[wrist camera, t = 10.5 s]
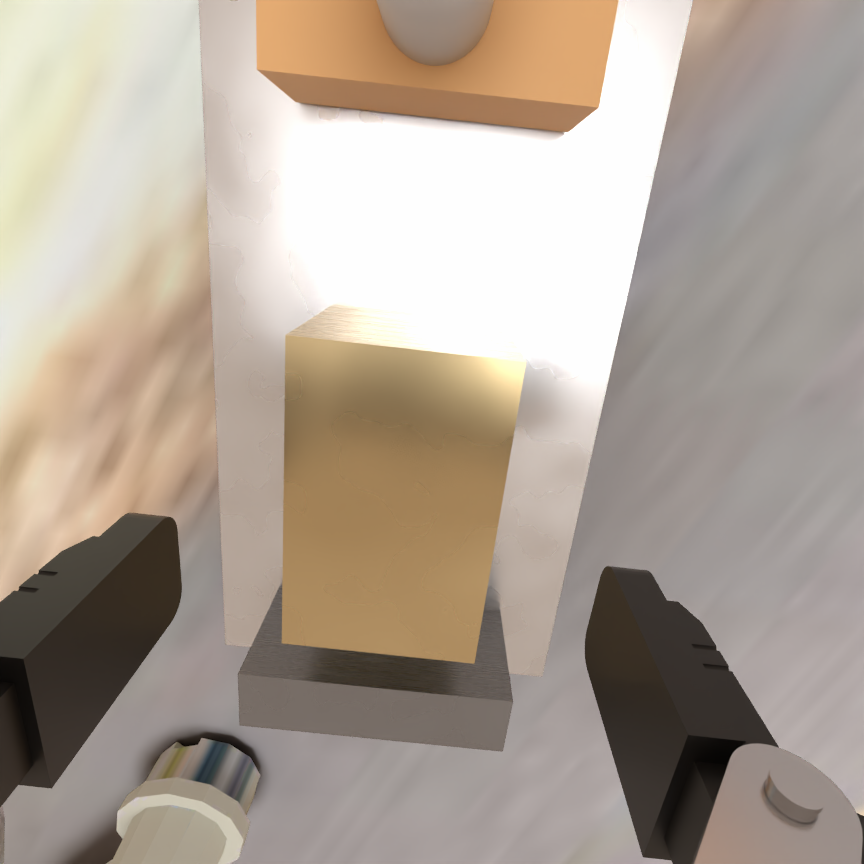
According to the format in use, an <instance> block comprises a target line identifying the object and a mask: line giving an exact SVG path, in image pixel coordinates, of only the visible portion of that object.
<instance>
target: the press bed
mask: <svg viewBox="0 0 864 864" xmlns="http://www.w3.org/2000/svg"><path fill="white" fill-rule="evenodd" d="M692 3H693V0H619V2H618V7H617V12H616V18H615V23H614V29H613V34H612V40H611V45H610V51H609V56H608V62H607V67H606V72H605V78H604V83H603V89H602V94H601V100H600V105H599V108H598V109H597V110H595V111H594V112H593V113H592V114H590V115H589V116H588V117H587V118H586V119H584V120H583V121H582V122H581V123H579V124H578V125H577V126H576V127H574V128H573V129H572V130H571V131H569V132H561V131H552V130H543V129H534V128H524V127H515V126H506V125H497V124H488V123H479V122H470V121H461V120H452V119H443V118H434V117H425V116H416V115H407V114H398V113H389V112H380V111H371V110H362V109H353V108H344V107H335V106H325V105H316V104H307V103H298V102H295V101H294V100H292V99H291V98H290V97H289V96H288V95H287V94H285V93H284V92H283V91H282V90H281V89H279V88H278V87H277V86H276V85H275V84H273V83H272V82H271V81H270V80H269V79H267V78H266V77H265V76H264V75H263V74H261V73H260V72H259V71H258V70H257V50H256V0H199V17H200V42H201V66H202V90H203V114H204V139H205V163H206V187H207V211H208V236H209V260H210V284H211V308H212V332H213V357H214V381H215V405H216V429H217V454H218V478H219V502H220V526H221V551H222V575H223V599H224V623H225V645H234V646H244V647H251V648H250V650H249V652H248V654H247V656H246V658H245V660H244V662H243V665H242V667H241V669H240V671H239V673H238V691H239V722H240V725H241V726H251V727H261V728H271V729H281V730H291V731H301V732H311V733H321V734H331V735H342V736H352V737H362V738H372V739H382V740H392V741H402V742H412V743H422V744H432V745H442V746H452V747H462V748H472V749H482V750H492V751H503V748H504V743H505V738H506V733H507V728H508V723H509V718H510V713H511V708H512V704H513V699H512V692H511V684H510V677H509V673H511V674H521V675H531V676H541V677H542V675H543V671H544V666H545V662H546V657H547V653H548V648H549V644H550V639H551V635H552V630H553V626H554V621H555V617H556V612H557V608H558V603H559V599H560V594H561V590H562V586H563V581H564V577H565V572H566V568H567V563H568V559H569V554H570V550H571V545H572V541H573V536H574V532H575V527H576V523H577V518H578V514H579V509H580V505H581V500H582V496H583V491H584V487H585V482H586V478H587V474H588V469H589V465H590V460H591V456H592V451H593V447H594V442H595V438H596V433H597V429H598V424H599V420H600V415H601V411H602V406H603V402H604V397H605V393H606V388H607V384H608V379H609V375H610V370H611V366H612V361H613V357H614V353H615V348H616V344H617V339H618V335H619V330H620V326H621V321H622V317H623V312H624V308H625V303H626V299H627V294H628V290H629V285H630V281H631V276H632V272H633V267H634V263H635V258H636V254H637V249H638V245H639V241H640V236H641V232H642V227H643V223H644V218H645V214H646V209H647V205H648V200H649V196H650V191H651V187H652V182H653V178H654V173H655V169H656V164H657V160H658V155H659V151H660V146H661V142H662V137H663V133H664V129H665V124H666V120H667V115H668V111H669V106H670V102H671V97H672V93H673V88H674V84H675V79H676V75H677V70H678V66H679V61H680V57H681V52H682V48H683V43H684V39H685V34H686V30H687V25H688V21H689V17H690V12H691V8H692ZM333 304H339V305H348V306H357V307H366V308H375V309H383V310H392V311H401V312H410V313H419V314H428V315H437V316H445V317H454V318H463V319H472V320H481V321H490V322H499V323H504V325H505V327H506V328H507V330H508V332H509V334H510V335H511V337H512V339H513V340H514V342H515V344H516V345H517V347H518V349H519V350H520V352H521V354H522V355H523V357H524V359H525V360H526V367H525V373H524V379H523V384H522V390H521V396H520V402H519V408H518V413H517V419H516V425H515V431H514V437H513V443H512V448H511V454H510V460H509V466H508V472H507V477H506V483H505V489H504V495H503V501H502V506H501V512H500V518H499V524H498V530H497V535H496V541H495V547H494V553H493V559H492V565H491V570H490V576H489V582H488V588H487V594H486V599H485V605H484V611H483V617H482V623H481V628H480V634H479V640H478V646H477V652H476V657H475V663H474V664H472V663H463V662H453V661H444V660H434V659H425V658H415V657H406V656H397V655H387V654H378V653H368V652H359V651H349V650H340V649H330V648H321V647H311V646H302V645H292V644H283V643H282V577H283V494H284V411H285V335H286V334H288V333H289V332H291V331H292V330H294V329H295V328H297V327H298V326H300V325H302V324H303V323H305V322H306V321H308V320H309V319H311V318H312V317H314V316H315V315H317V314H319V313H320V312H322V311H323V310H325V309H326V308H328V307H329V306H331V305H333Z"/></svg>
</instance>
